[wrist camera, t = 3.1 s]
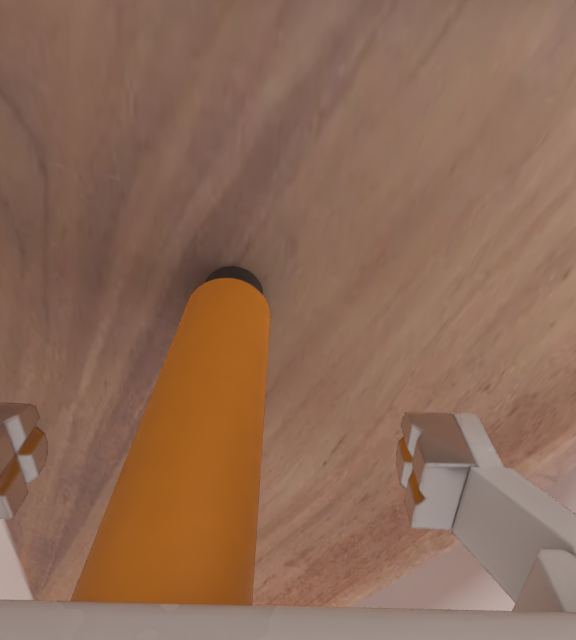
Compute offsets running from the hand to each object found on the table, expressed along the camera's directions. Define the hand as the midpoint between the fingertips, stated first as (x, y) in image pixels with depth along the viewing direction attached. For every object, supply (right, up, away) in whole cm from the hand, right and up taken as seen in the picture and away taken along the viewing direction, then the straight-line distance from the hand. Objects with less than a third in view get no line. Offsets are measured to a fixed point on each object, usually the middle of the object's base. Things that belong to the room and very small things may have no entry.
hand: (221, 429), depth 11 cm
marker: (0, +3, +5) cm, 6 cm away
